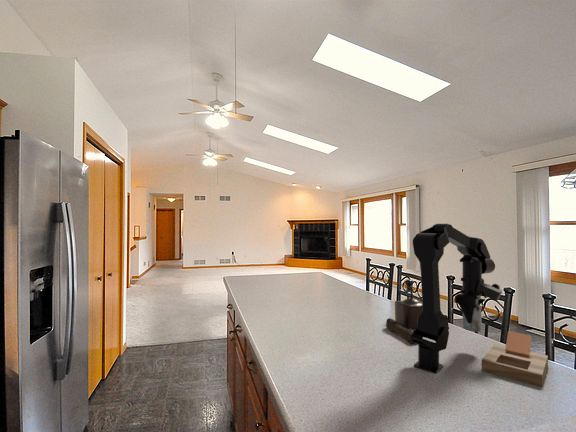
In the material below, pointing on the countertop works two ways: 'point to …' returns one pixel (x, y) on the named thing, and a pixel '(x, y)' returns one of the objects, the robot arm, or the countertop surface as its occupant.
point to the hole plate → (516, 365)
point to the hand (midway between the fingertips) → (471, 321)
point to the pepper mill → (408, 309)
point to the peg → (473, 321)
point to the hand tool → (399, 329)
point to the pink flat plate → (518, 343)
